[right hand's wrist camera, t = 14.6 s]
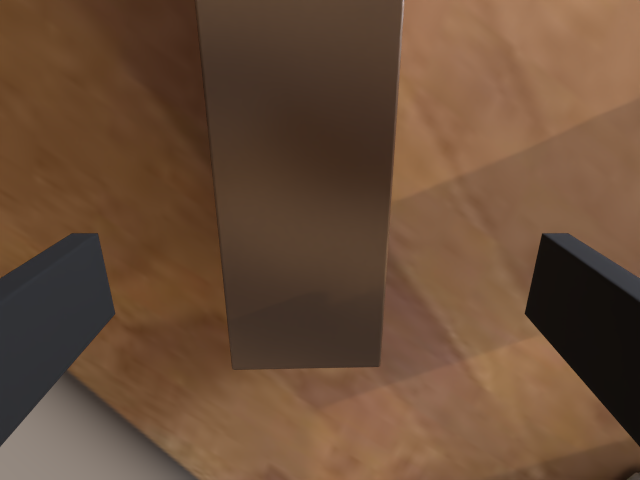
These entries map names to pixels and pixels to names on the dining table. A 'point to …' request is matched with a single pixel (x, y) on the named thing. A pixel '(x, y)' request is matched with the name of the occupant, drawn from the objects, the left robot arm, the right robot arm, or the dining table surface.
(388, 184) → the beam
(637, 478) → the hard drive box
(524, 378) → the dining table surface
